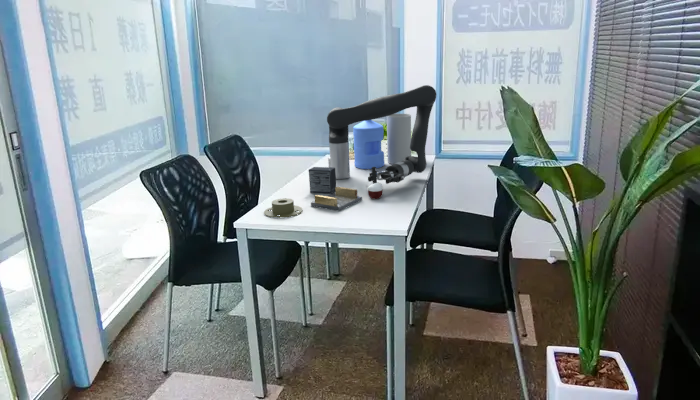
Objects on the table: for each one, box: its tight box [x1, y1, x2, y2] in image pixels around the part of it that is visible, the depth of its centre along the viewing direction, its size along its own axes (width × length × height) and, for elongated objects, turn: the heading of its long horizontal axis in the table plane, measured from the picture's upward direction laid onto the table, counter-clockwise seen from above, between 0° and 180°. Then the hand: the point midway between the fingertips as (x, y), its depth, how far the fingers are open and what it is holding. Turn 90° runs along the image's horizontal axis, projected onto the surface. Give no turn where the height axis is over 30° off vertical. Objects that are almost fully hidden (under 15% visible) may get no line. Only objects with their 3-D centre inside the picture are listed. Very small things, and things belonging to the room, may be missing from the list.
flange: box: [263, 198, 304, 218], centre depth 209 cm, size 5×15×15 cm
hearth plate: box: [310, 186, 363, 211], centre depth 217 cm, size 14×16×4 cm
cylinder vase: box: [386, 113, 412, 165], centre depth 282 cm, size 12×12×25 cm
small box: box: [308, 166, 337, 195], centre depth 235 cm, size 11×6×10 cm, turn 71°
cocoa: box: [367, 167, 384, 200], centre depth 222 cm, size 10×6×12 cm, turn 160°
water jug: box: [352, 119, 385, 170], centre depth 276 cm, size 16×16×28 cm
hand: (377, 180), depth 223 cm, fingers open, 8 cm apart
